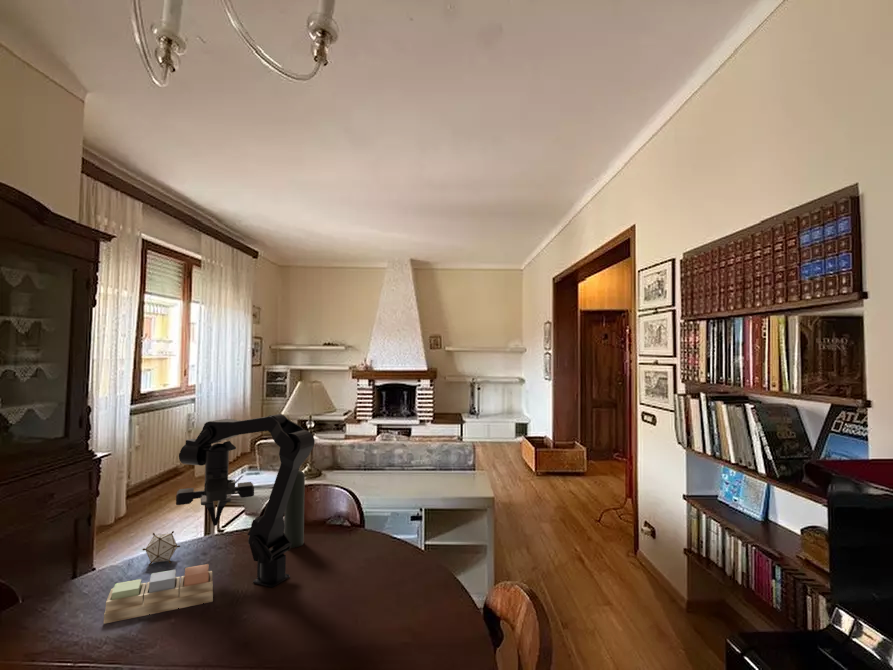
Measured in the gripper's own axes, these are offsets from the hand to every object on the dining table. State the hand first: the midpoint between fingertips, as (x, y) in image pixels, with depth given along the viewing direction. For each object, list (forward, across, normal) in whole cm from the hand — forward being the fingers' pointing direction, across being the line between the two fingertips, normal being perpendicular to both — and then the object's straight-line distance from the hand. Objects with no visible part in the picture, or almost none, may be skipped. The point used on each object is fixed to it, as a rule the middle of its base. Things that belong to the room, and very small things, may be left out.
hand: (215, 525), depth 128 cm
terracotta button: (+9, -4, -13) cm, 16 cm away
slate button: (+9, -11, -13) cm, 19 cm away
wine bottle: (+12, +22, +9) cm, 27 cm away
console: (+12, -11, -13) cm, 21 cm away
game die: (+12, -13, +12) cm, 22 cm away
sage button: (+10, -18, -13) cm, 24 cm away
